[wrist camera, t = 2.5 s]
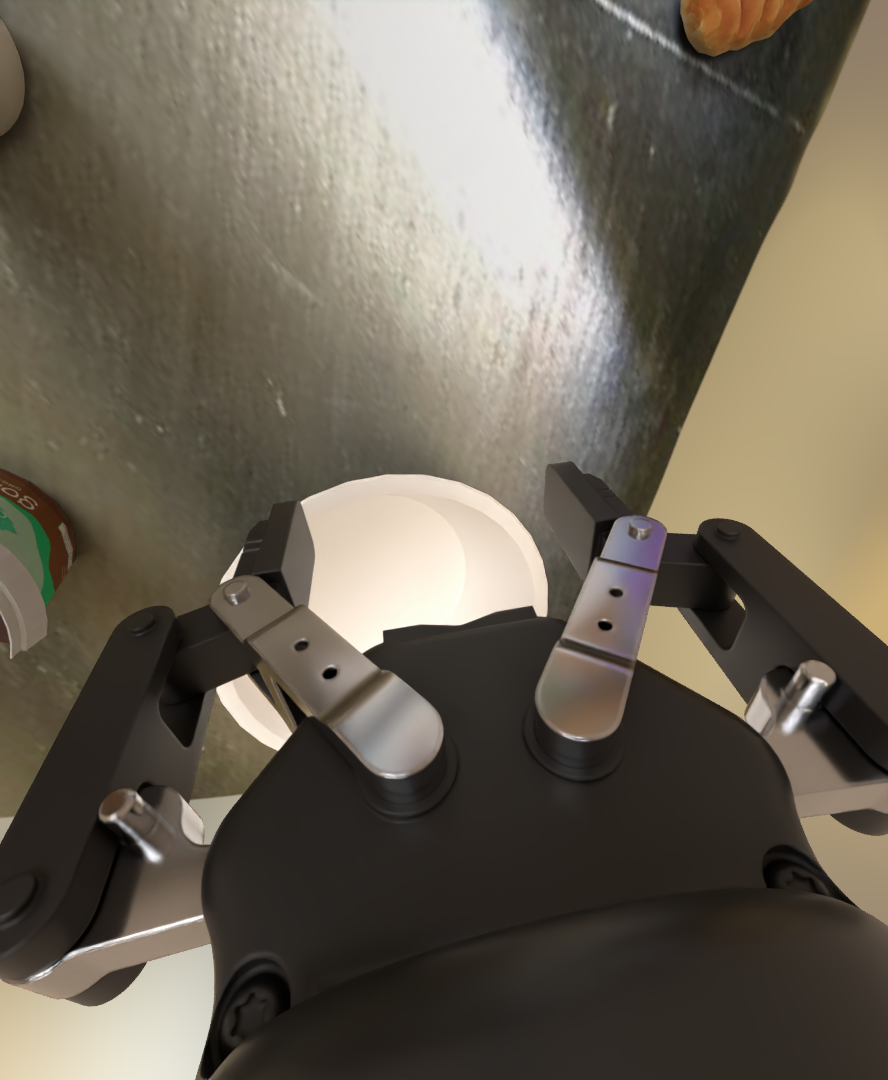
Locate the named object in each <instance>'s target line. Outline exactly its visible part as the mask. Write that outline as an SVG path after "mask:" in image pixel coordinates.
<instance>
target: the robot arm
mask: <svg viewBox="0 0 888 1080" xmlns="http://www.w3.org/2000/svg"><path fill="white" fill-rule="evenodd" d="M544 514H545V519H546V522H547V524H548V525H549V527H550V529H551V530H552V532H553V533H554V535H555V537H556V538H557V540H558V542H559V543H560V545H561V546H562V548H563V550H564V551H565V553H566V554H567V556H568V558H569V559H570V561H571V563H572V564H573V566H574V567H575V569H576V571H577V572H578V574H579V575H580V577H581V579H582V580H583V582H584V584H583V587H582V589H581V591H580V594H579V596H578V599H577V601H576V603H575V606H574V608H573V610H572V613H571V615H570V617H569V620H568V622H566V621H563V620H560V619H555V618H551V617H543V616H537V615H536V612H535V610H534V608H533V606H526V607H520V608H514V609H509V610H503V611H497V612H494V613H491V614H489V615H486V616H484V617H481V618H478V619H476V620H473V621H471V622H468V623H465V624H463V625H425V624H419V625H414V626H408V627H402V628H396V629H390V630H384V631H383V643H380V644H378V645H376V646H374V647H372V648H370V649H368V650H367V651H365V652H363V653H361V652H359V651H358V650H357V649H356V648H355V647H353V646H352V645H351V644H350V643H349V642H348V641H346V640H345V639H344V638H343V637H342V636H341V635H339V634H338V633H337V632H336V631H335V630H334V629H332V628H331V627H330V626H329V625H328V624H327V623H325V622H324V621H323V620H322V619H321V618H319V617H318V616H317V615H316V614H315V613H314V612H312V611H311V610H310V609H309V608H308V606H309V599H310V591H311V584H312V577H313V570H314V562H315V549H314V543H313V539H312V536H311V533H310V530H309V527H308V523H307V520H306V517H305V514H304V511H303V508H302V505H301V503H300V501H299V500H294V501H288V502H281V503H275V504H274V505H273V508H272V511H271V514H270V517H269V520H264V521H259V522H258V523H257V524H256V525H255V527H254V528H253V529H252V530H251V531H250V532H249V534H248V537H247V540H246V544H245V545H244V548H243V553H242V554H241V556H240V559H239V562H238V565H237V567H236V570H235V573H234V576H233V578H232V579H230V580H228V581H225V582H224V583H222V584H221V585H219V586H218V587H217V588H216V589H215V590H214V591H213V592H212V593H211V595H210V597H209V604H208V605H206V606H204V607H202V608H199V609H197V610H194V611H191V612H189V613H186V614H183V615H180V616H178V617H176V615H175V613H174V612H173V610H172V609H170V608H169V607H166V606H153V607H149V608H145V609H142V610H140V611H138V612H135V613H134V614H132V615H130V616H128V617H127V618H126V619H124V620H123V621H122V622H121V623H120V624H118V626H117V627H116V628H115V629H114V631H113V632H112V634H111V636H110V638H109V640H108V642H107V644H106V646H105V647H104V649H103V651H102V653H101V655H100V657H99V659H98V661H97V663H96V664H95V666H94V668H93V670H92V672H91V674H90V676H89V678H88V680H87V681H86V683H85V685H84V687H83V689H82V691H81V693H80V695H79V697H78V698H77V700H76V702H75V704H74V706H73V708H72V710H71V712H70V713H69V715H68V717H67V719H66V721H65V723H64V725H63V727H62V729H61V730H60V732H59V734H58V736H57V738H56V740H55V742H54V744H53V746H52V747H51V749H50V751H49V753H48V755H47V757H46V759H45V761H44V763H43V764H42V766H41V768H40V770H39V772H38V774H37V776H36V778H35V779H34V781H33V783H32V785H31V787H30V789H29V791H28V793H27V795H26V796H25V798H24V800H23V802H22V804H21V806H20V808H19V810H18V812H17V813H16V815H15V817H14V819H13V821H12V823H11V825H10V827H9V829H8V830H7V832H6V834H5V836H4V838H3V840H2V842H1V844H0V978H1V979H2V981H4V982H6V983H8V984H11V985H14V986H17V987H20V988H23V989H26V990H29V991H32V992H35V993H38V994H41V995H44V996H47V997H50V998H53V999H66V1000H69V1001H72V1002H75V1003H78V1004H81V1005H85V1006H98V1005H101V1004H104V1003H106V1002H108V1001H110V1000H112V999H114V998H115V997H116V996H118V995H119V994H121V993H122V992H123V991H124V990H125V989H127V988H128V987H129V985H130V984H131V983H132V982H133V981H134V980H135V979H136V978H137V976H138V975H139V974H140V973H141V971H142V969H143V968H144V966H145V965H146V963H147V962H148V961H151V960H155V959H158V958H162V957H165V956H169V955H172V954H176V953H179V952H183V951H186V950H189V949H193V948H197V947H200V946H203V945H207V944H210V943H211V945H212V952H213V960H214V977H215V979H214V980H215V981H214V1006H213V1013H212V1020H211V1024H210V1029H209V1033H208V1037H207V1041H206V1045H205V1048H204V1052H203V1055H202V1058H201V1062H200V1065H199V1069H198V1072H197V1075H196V1079H195V1080H888V926H887V925H885V924H884V923H882V922H881V921H879V920H878V919H876V918H875V917H874V916H872V915H870V914H868V913H866V912H865V911H863V910H861V909H860V908H859V907H857V906H856V905H855V904H854V903H853V902H852V901H851V900H850V899H849V898H848V897H847V896H846V895H845V894H844V893H843V892H842V891H841V890H840V889H839V888H838V887H837V886H836V885H835V884H834V883H833V881H832V880H831V879H830V878H829V877H828V875H827V874H826V873H825V871H824V870H823V869H822V867H821V866H820V864H819V862H818V861H817V859H816V857H815V855H814V853H813V851H812V849H811V847H810V845H809V843H808V841H807V838H806V835H805V833H804V831H803V828H802V825H801V823H800V819H799V818H806V817H813V816H820V815H827V814H830V815H831V816H832V817H833V818H835V819H836V820H837V821H839V822H840V823H842V824H843V825H845V826H847V827H848V828H850V829H852V830H855V831H857V832H860V833H863V834H867V835H873V836H880V835H885V834H888V646H887V645H886V644H885V643H884V642H883V641H881V640H880V639H879V638H878V637H877V636H876V635H874V634H873V633H872V632H871V631H869V629H868V628H866V627H865V626H864V625H863V624H862V623H861V622H859V621H858V620H857V619H856V618H855V617H854V616H852V615H851V614H850V613H849V612H848V611H847V610H846V609H844V608H843V607H842V606H841V605H840V604H839V603H837V602H836V601H835V600H834V599H833V598H832V597H831V596H829V595H828V594H827V593H826V592H825V591H824V590H822V589H821V588H820V587H819V586H818V585H816V584H815V583H814V582H813V581H812V580H811V579H810V578H809V577H807V576H806V575H805V574H804V573H803V572H802V571H800V570H799V569H798V568H797V567H796V566H795V565H794V564H792V563H791V562H790V561H789V560H788V559H787V558H785V557H784V556H783V555H782V554H781V553H780V552H778V551H777V550H776V549H775V548H774V547H773V546H772V545H770V544H769V543H768V542H767V541H766V540H764V539H763V538H762V537H761V536H760V535H759V534H757V533H756V532H755V531H754V530H753V529H752V528H750V527H749V526H747V525H745V524H743V523H740V522H737V521H734V520H729V519H720V518H719V519H718V518H717V519H709V520H706V521H704V522H702V523H701V524H700V526H699V528H698V532H697V534H696V535H695V534H676V533H675V534H674V533H667V529H666V528H665V526H664V525H663V524H662V523H660V522H659V521H657V520H655V519H652V518H649V517H646V516H640V515H634V514H633V513H632V512H631V511H630V510H629V509H628V508H627V507H626V506H625V505H624V504H623V502H622V501H621V500H620V499H619V498H618V497H616V496H615V494H614V493H613V492H612V491H611V490H609V487H608V486H607V485H606V484H605V483H604V482H603V481H602V480H601V479H599V478H597V477H595V476H593V475H591V474H589V473H588V474H583V473H582V472H581V471H580V470H579V469H578V468H577V467H576V466H575V464H574V463H573V462H571V461H568V462H561V463H554V464H549V465H548V466H547V468H546V476H545V493H544ZM736 594H737V595H738V596H739V597H740V598H741V600H742V602H743V603H744V606H745V610H744V609H743V608H742V606H740V604H739V603H738V602H737V601H736V600H735V599H734V598H735V596H736ZM650 605H653V606H665V607H677V608H678V610H679V611H680V612H681V614H682V615H683V617H684V618H685V620H686V621H687V622H688V624H689V625H690V626H691V628H692V629H693V630H694V632H695V633H696V634H697V636H698V637H699V639H700V640H701V641H702V643H703V644H704V646H705V647H706V648H707V650H708V651H709V653H710V654H711V655H712V657H713V658H714V659H715V661H716V662H717V664H718V665H719V666H720V668H721V669H722V670H723V672H724V673H725V675H726V676H727V677H728V679H729V680H730V681H731V683H732V684H733V686H734V687H735V688H736V690H737V691H738V692H739V694H740V695H741V697H742V698H743V699H744V701H745V702H746V703H747V707H746V709H745V721H746V722H745V721H744V720H743V719H741V718H740V717H738V716H737V715H735V714H734V713H732V712H730V711H728V710H727V709H725V708H723V707H721V706H720V705H718V704H716V703H714V702H712V701H711V700H709V699H707V698H705V697H703V696H701V695H700V694H698V693H696V692H694V691H693V690H691V689H689V688H687V687H686V686H684V685H682V684H680V683H678V682H677V681H675V680H673V679H671V678H669V677H668V676H666V675H664V674H662V673H660V672H659V671H657V670H655V669H653V668H651V667H650V666H648V665H646V664H644V663H642V662H641V661H639V660H637V655H638V651H639V647H640V643H641V639H642V634H643V631H644V627H645V623H646V619H647V615H648V610H649V607H650ZM246 674H247V676H248V677H249V678H250V679H251V681H252V682H253V683H254V684H255V686H256V687H257V688H258V689H259V690H260V692H261V693H262V694H263V695H264V696H265V698H266V699H267V700H268V701H269V702H270V704H271V705H272V706H273V707H274V708H275V710H276V711H277V712H278V713H279V715H280V716H281V717H282V719H283V720H284V722H285V723H286V725H287V726H288V728H289V730H290V731H291V733H292V735H291V736H290V737H289V738H288V740H287V741H286V742H285V743H284V744H283V746H282V747H281V748H280V749H279V751H278V752H277V753H276V754H275V756H274V757H273V758H272V759H271V761H270V762H269V763H268V764H267V765H266V767H265V768H264V769H263V770H262V772H261V773H260V774H259V775H258V777H257V778H256V779H255V780H254V781H253V783H252V784H251V785H250V786H249V788H248V789H247V790H246V791H245V793H244V794H243V795H242V796H241V798H240V799H239V800H238V801H237V803H236V804H235V805H234V806H233V807H232V809H231V810H230V811H229V813H228V814H227V815H226V817H225V818H224V820H223V821H222V823H221V825H220V826H219V828H218V830H217V832H216V834H215V836H214V838H213V840H212V842H211V844H210V845H204V824H203V821H202V819H201V817H200V816H199V815H198V814H197V813H196V812H195V810H194V809H193V808H192V807H191V806H190V805H189V801H190V797H191V793H192V789H193V784H194V780H195V776H196V772H197V768H198V764H199V760H200V755H201V751H202V747H203V743H204V739H205V735H206V730H207V726H208V722H209V718H210V714H211V710H212V705H213V701H214V697H215V693H216V689H217V687H219V686H221V685H223V684H226V683H228V682H230V681H233V680H235V679H237V678H240V677H242V676H244V675H246Z"/></svg>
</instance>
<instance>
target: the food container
mask: <svg viewBox="0 0 888 1080" xmlns="http://www.w3.org/2000/svg"><path fill="white" fill-rule="evenodd" d="M75 555H76V541H75V538H74V535H73V532H72V528H71V525H70V522H69V520H68V519H67V518H66V516H65V515H64V514H63V512H62V511H61V510H60V508H59V507H58V505H57V504H56V503H55V501H54V500H53V499H51V498H50V497H49V496H47V495H46V494H45V493H44V492H42V491H41V490H40V489H38V488H37V487H36V486H35V485H33V484H32V483H31V482H29V481H27V480H25V479H23V478H21V477H18V476H16V475H14V474H12V473H10V472H8V471H5V470H2V469H0V642H4V643H10V658H13V657H14V656H15V655H16V654H17V653H18V652H19V651H20V650H23V651H27V650H28V649H29V648H31V647H32V646H33V645H34V644H36V643H37V642H38V641H40V640H41V639H42V638H44V637H45V636H46V635H47V615H46V609H45V608H46V606H47V605H48V603H49V601H50V600H51V598H52V597H53V595H54V593H55V592H56V590H57V588H58V587H59V585H60V584H61V582H62V580H63V579H64V577H65V575H66V574H67V572H68V570H69V569H70V567H71V566H72V564H73V562H74V561H75Z"/></svg>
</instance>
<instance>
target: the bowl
mask: <svg viewBox="0 0 888 1080" xmlns="http://www.w3.org/2000/svg"><path fill="white" fill-rule="evenodd" d="M300 503H301V505H302V508H303V511H304V514H305V517H306V520H307V523H308V527H309V530H310V533H311V536H312V539H313V543H314V549H315V562H314V570H313V577H312V584H311V591H310V599H309V606H308V608H309V609H310V610H311V611H312V612H314V613H315V614H316V615H317V616H318V617H319V618H321V619H322V620H323V621H324V622H325V623H327V624H328V625H329V626H330V627H331V628H332V629H334V630H335V631H336V632H337V633H338V634H339V635H341V636H342V637H343V638H344V639H345V640H346V641H348V642H349V643H350V644H351V645H352V646H353V647H355V648H356V649H357V650H358V651H359V652H361V653H363V652H365V651H367V650H368V649H370V648H372V647H374V646H376V645H378V644H380V643H383V631H384V630H390V629H396V628H402V627H408V626H414V625H419V624H425V625H463V624H465V623H468V622H471V621H473V620H476V619H478V618H481V617H484V616H486V615H489V614H491V613H494V612H497V611H503V610H509V609H514V608H520V607H526V606H533V608H534V610H535V612H536V615H537V616H543V617H546V615H547V598H548V584H547V579H546V575H545V570H544V565H543V560H542V558H541V556H540V553H539V551H538V549H537V547H536V545H535V543H534V541H533V539H532V536H531V535H530V534H529V532H528V531H527V530H526V529H525V527H524V526H523V525H522V524H521V522H520V521H519V520H518V519H517V518H516V516H515V515H514V514H513V513H512V512H511V511H509V510H508V509H507V508H505V507H504V506H503V505H501V504H500V503H499V502H497V501H496V500H495V499H493V498H492V497H491V496H490V495H487V494H485V493H483V492H481V491H478V490H476V489H474V488H472V487H470V486H467V485H465V484H463V483H461V482H457V481H452V480H447V479H443V478H438V477H433V476H429V475H389V474H387V475H381V476H376V477H371V478H365V479H360V480H355V481H349V482H346V483H343V484H340V485H338V486H335V487H333V488H330V489H328V490H325V491H322V492H320V493H317V494H315V495H312V496H310V497H308V498H306V499H304V500H303V501H301V502H300ZM243 548H244V547H243ZM242 553H243V549H242V550H241V552H240V553H239V555H238V556H237V558H236V559H235V560H234V562H233V563H232V565H231V566H230V568H229V569H228V571H227V572H226V574H225V575H224V576H223V578H222V580H221V583H220V585H221V584H222V583H224V582H225V581H228V580H230V579H232V578H233V576H234V573H235V570H236V567H237V565H238V562H239V559H240V556H241V554H242ZM216 691H217V693H218V695H219V698H220V700H221V702H222V703H223V705H224V706H225V707H226V708H227V710H228V711H229V712H230V714H231V715H232V716H233V717H234V719H235V720H236V721H237V722H238V724H239V725H240V726H241V727H242V728H244V729H245V730H246V731H247V732H249V733H250V734H251V735H253V736H254V737H255V738H256V739H258V740H259V741H260V742H262V743H263V744H265V745H267V746H269V747H271V748H273V749H275V750H277V751H279V749H280V748H281V747H282V746H283V744H284V743H285V742H286V741H287V740H288V738H289V737H290V736H291V735H292V733H291V731H290V730H289V728H288V726H287V725H286V723H285V722H284V720H283V719H282V717H281V716H280V715H279V713H278V712H277V711H276V710H275V708H274V707H273V706H272V705H271V704H270V702H269V701H268V700H267V699H266V698H265V696H264V695H263V694H262V693H261V692H260V690H259V689H258V688H257V687H256V686H255V684H254V683H253V682H252V681H251V679H250V678H249V677H248V676H247V674H246V675H244V676H242V677H240V678H237V679H235V680H233V681H230V682H228V683H226V684H223V685H221V686H219V687H217V689H216Z"/></svg>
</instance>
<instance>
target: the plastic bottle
mask: <svg viewBox="0 0 888 1080" xmlns="http://www.w3.org/2000/svg"><path fill="white" fill-rule="evenodd" d="M24 95H25V82H24V72H23V68H22V64H21V60H20V57H19V53H18V51H17V49H16V46H15V44H14V42H13V39H12V37H11V35H10V33H9V31H8V30H7V28H6V26H5V24H4V23H3V21H2V19H1V17H0V136H2V135H3V134H5V133H6V132H7V131H9V130H10V129H11V127H12V126H13V125H14V123H15V122H16V121H17V119H18V117H19V115H20V112H21V110H22V107H23V102H24Z"/></svg>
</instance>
